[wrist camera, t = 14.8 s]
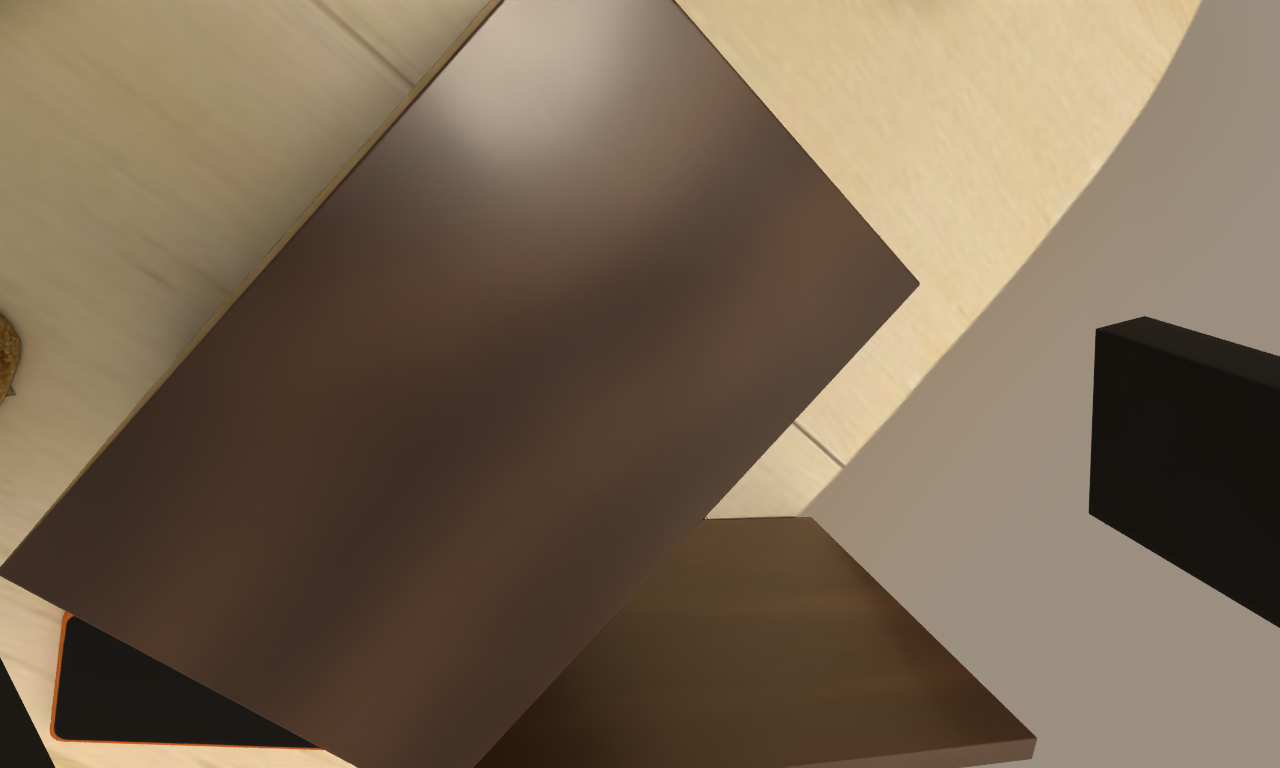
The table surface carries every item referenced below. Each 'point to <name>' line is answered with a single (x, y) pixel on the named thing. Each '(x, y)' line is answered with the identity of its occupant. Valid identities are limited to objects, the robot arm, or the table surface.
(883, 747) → the cupboard door
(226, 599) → the cupboard
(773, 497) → the table surface
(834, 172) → the table surface
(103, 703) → the smartphone
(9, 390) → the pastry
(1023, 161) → the table surface
